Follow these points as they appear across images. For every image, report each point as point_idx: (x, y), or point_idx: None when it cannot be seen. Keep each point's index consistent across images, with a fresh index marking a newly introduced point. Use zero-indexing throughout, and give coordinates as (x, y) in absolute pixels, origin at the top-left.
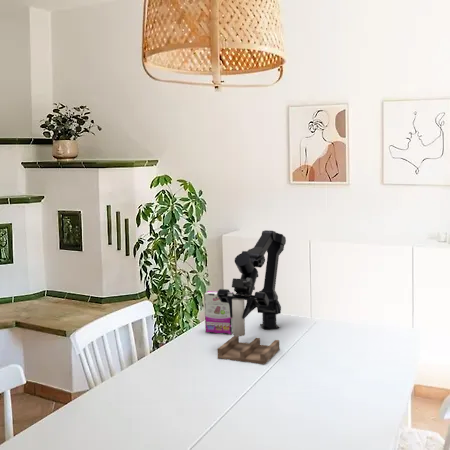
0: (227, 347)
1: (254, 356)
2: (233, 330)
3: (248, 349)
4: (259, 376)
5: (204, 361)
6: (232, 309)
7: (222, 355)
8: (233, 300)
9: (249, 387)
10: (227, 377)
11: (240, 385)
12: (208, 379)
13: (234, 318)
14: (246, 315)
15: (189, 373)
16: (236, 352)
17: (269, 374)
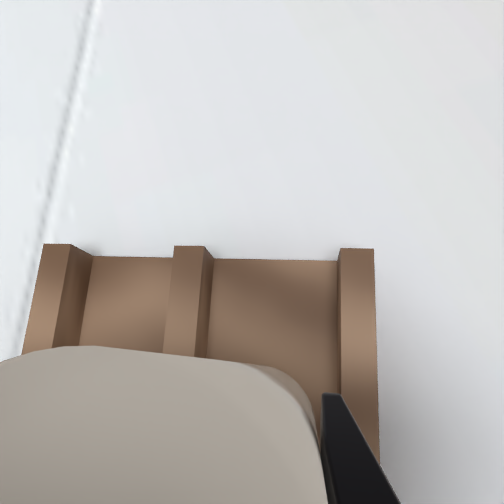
0: (339, 357)
1: (140, 315)
2: (292, 380)
3: (168, 323)
4: (77, 113)
5: (416, 195)
6: (296, 414)
7: (337, 271)
8: (207, 398)
9: (95, 7)
10: (211, 56)
11: (134, 9)
12: (285, 10)
13: (258, 367)
14: None
15: (405, 32)
16: (271, 354)
17: (37, 148)
